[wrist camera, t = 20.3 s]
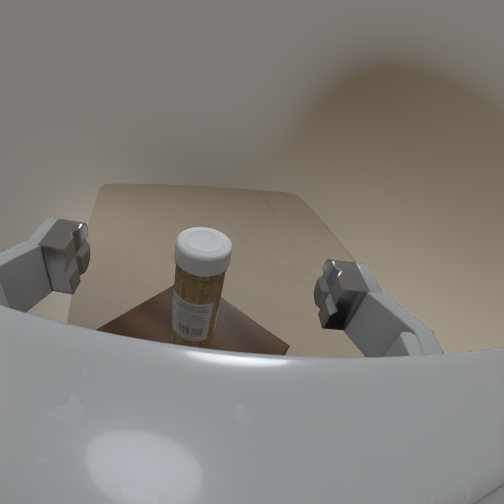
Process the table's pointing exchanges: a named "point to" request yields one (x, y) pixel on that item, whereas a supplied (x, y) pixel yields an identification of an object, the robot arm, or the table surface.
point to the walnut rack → (224, 338)
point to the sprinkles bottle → (198, 285)
